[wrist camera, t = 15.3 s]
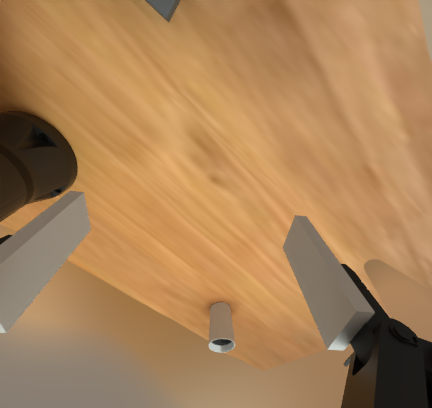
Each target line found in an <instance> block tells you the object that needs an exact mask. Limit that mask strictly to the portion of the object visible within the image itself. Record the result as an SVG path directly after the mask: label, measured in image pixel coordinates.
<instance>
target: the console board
mask: <svg viewBox="0 0 432 408" xmlns="http://www.w3.org/2000/svg"><path fill="white" fill-rule="evenodd" d="M145 1H146V2H147V3H149V4H150V5H151V6H152V7H153V8H154V9H155V10H156V11H157V12H158V13H159V14H160V15H161V16H163V17H164V18H165V19H166V20H167V21H168V22H169V21H170V19H171V17H172V15H173V13H174V11H175V10H176V8H177V6H178V4H179V2H180V0H145Z"/></svg>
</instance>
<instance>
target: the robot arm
mask: <svg viewBox="0 0 432 408" xmlns="http://www.w3.org/2000/svg"><path fill="white" fill-rule="evenodd" d="M76 175H77V162H76V158H75V155H74V153H73V151H72V149H71V147H70V145H69V144H68V142H67V141H66V140H65V138H64V137H63V136H62V135H61V134H60V133H59V132H58V131H57V130H56V129H55V128H53V127H52V126H51V125H49V124H48V123H47V122H45V121H43V120H41V119H40V118H38V117H35V116H33V115H30V114H27V113H23V112H16V111H9V112H1V113H0V222H1V221H2V220H4V219H5V218H7V217H8V216H10V215H11V214H13V213H14V212H16V211H17V210H18V209H20V208H21V207H23V206H24V205H26V204H29V203H34V202H38V201H42V200H46V199H50V198H53V197H56V196H58V195H60V194H62V193H63V192H64V191H66V190H67V189H68V188H69V187H71V185H72V184H73V183H74V181H75V179H76ZM90 230H91V227H90V222H89V217H88V211H87V206H86V201H85V196H84V192H76V191H70V192H68V193H67V194H66V195H64V196H63V197H62V198H61V199H59V200H58V201H57V202H55V203H54V204H53V205H51V206H50V207H49V208H48V209H46V210H45V211H44V212H42V213H41V214H40V215H38V216H37V217H36V218H35V219H33V220H32V221H31V222H29V223H28V224H27V225H26V226H24V227H23V228H22V229H20V230H19V231H18V232H16V233H15V234H14V235H7V236H5V237H3V238H0V333H7V332H8V331H9V329H10V328H11V327H12V326H13V325H14V323H15V322H16V321H17V320H18V318H19V317H20V316H21V315H22V314H23V312H24V311H25V310H26V308H27V307H28V306H29V305H30V303H31V302H32V301H33V300H34V299H35V297H36V296H37V295H38V294H39V293H40V291H41V290H42V289H43V287H44V286H45V285H46V284H47V283H48V282H49V280H50V279H51V278H52V276H53V275H54V274H55V273H56V272H57V271H58V269H59V268H60V267H61V265H62V264H63V263H64V262H65V261H66V260H67V258H68V257H69V256H70V255H71V253H72V252H73V251H74V250H75V249H76V247H77V246H78V245H79V244H80V242H81V241H82V240H83V239H84V237H85V236H86V235H87V234H88V233H89V231H90ZM283 249H284V252H285V254H286V256H287V258H288V261H289V263H290V265H291V268H292V270H293V272H294V274H295V277H296V279H297V281H298V284H299V286H300V288H301V290H302V293H303V295H304V297H305V299H306V302H307V304H308V306H309V309H310V311H311V313H312V315H313V318H314V320H315V322H316V325H317V327H318V329H319V331H320V334H321V336H322V338H323V341H324V343H325V345H326V347H327V349H328V350H344V349H345V348H346V347H347V346H348V345H349V343H350V344H351V345H352V347H353V349H354V352H353V353H352V354H351V356H350V357H349V358H348V359H347V360H346V361H345V363H344V365H345V366H347V365H348V364H349V363H350V365H349V370H348V376H347V380H346V385H345V390H344V395H343V400H342V405H341V408H432V342H429V341H426V340H424V339H421V338H418V337H417V336H416V334H415V333H414V332H413V331H412V330H411V329H409V327H407V326H406V325H404V324H403V323H401V322H399V321H397V320H395V319H392V318H389V317H388V315H387V314H386V313H385V311H384V310H383V309H382V307H381V306H380V305H379V303H378V302H377V301H376V299H375V298H374V297H373V295H372V294H371V293H370V292H369V290H367V288H366V286H365V285H364V284H363V282H361V280H360V278H359V277H358V276H357V274H356V273H355V272H354V271H353V270H352V269H350V268H349V267H348V266H347V265H346V264H340V263H339V261H338V260H337V258H336V257H335V256H334V254H333V253H332V252H331V250H330V249H329V247H328V246H327V245H326V243H325V242H324V240H323V239H322V238H321V236H320V235H319V233H318V232H317V231H316V229H315V228H314V226H313V225H312V224H311V222H310V221H309V219H308V218H307V217H306V216H297V215H295V217H294V220H293V222H292V225H291V228H290V230H289V233H288V235H287V238H286V241H285V243H284V246H283Z"/></svg>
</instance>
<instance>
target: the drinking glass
mask: <svg viewBox="0 0 432 408" xmlns="http://www.w3.org/2000/svg"><path fill="white" fill-rule="evenodd" d="M209 348H210V349H211V350H212V351H215V352H220V353H223V352H228V351H231V350H232V349H233V348H235V339H234V331H233V324H232V317H231V309H230V306H229V305H228V304H227V303H224V302H218V303H215V304H213V305H212V306H211V309H210V328H209Z"/></svg>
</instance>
